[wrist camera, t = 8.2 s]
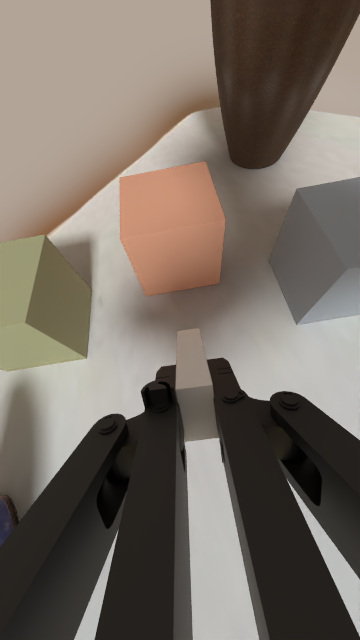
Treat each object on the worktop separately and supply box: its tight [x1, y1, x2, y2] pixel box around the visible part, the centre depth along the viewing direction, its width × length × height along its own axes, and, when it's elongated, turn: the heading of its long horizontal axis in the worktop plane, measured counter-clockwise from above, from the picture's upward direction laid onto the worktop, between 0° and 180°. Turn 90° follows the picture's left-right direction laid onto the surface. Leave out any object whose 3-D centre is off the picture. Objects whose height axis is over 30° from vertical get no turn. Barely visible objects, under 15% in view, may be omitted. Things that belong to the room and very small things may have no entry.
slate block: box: [269, 177, 360, 325], centre depth 18 cm, size 8×8×8 cm
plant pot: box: [211, 0, 360, 168], centre depth 25 cm, size 15×15×16 cm
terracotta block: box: [120, 161, 226, 296], centre depth 21 cm, size 8×8×8 cm
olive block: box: [0, 235, 92, 371], centre depth 19 cm, size 8×8×8 cm
